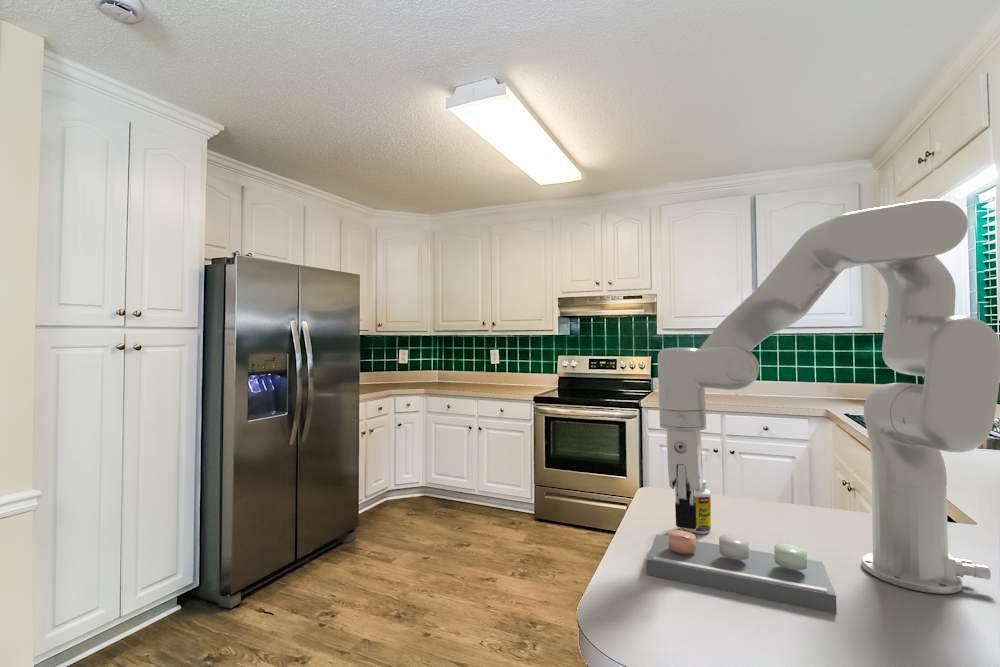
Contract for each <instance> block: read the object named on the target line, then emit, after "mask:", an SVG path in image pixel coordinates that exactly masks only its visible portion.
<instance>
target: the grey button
mask: <svg viewBox="0 0 1000 667" xmlns="http://www.w3.org/2000/svg"><path fill="white" fill-rule="evenodd" d="M718 545H719V553H720V554H721V555H723V556H725V557H727V558H731V559H736V560H745V559H748V558H749V550H750V543H749V541H748V539H745V538H743V537H741V536H738V535H730V534H724V535H720V536H719V537H718Z"/></svg>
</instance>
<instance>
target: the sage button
mask: <svg viewBox="0 0 1000 667" xmlns="http://www.w3.org/2000/svg"><path fill="white" fill-rule="evenodd" d="M773 548H774V552H773V554H774V561H775V563H776V564H778V565H780V566H782V567H784V568H788V569H792V570H805V569H806V568H807V559H808V551H807V550H806V549H804V548H803V547H801V546H797V545H793V544H788V543H776V544H775V545H773Z"/></svg>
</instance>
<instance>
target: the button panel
mask: <svg viewBox="0 0 1000 667" xmlns="http://www.w3.org/2000/svg"><path fill="white" fill-rule="evenodd" d="M645 559H646V561H645V563H646V565H645V567H646V570H645V573H646V574H645V575H646V576H648V577H649V576H650V577H655V578H659V579H665V580H669V581H675V582H680V583H683V584H689V585H693V586H698V587H704V588H708V589H713V590H718V591H722V592H728V593H733V594H734V593H735V594H739V595H742V596H743V595H744V596H747V597H754V598H756V599H757V598H758V599H763V600H767V601H774V602H777V603H783V604H786V605H793V606H797V607H801V608H802V607H803V608H806V609H812V610H816V611H822V612H826V613H831V614H837V594H836V592H835V590H834V586H833V585H832V582H831V579H830V577H829V575H828V573H827V571H826V568H825V564H824V562H823V561H819V560H813V559H808V558H807V568H806V569H805V570H792V569H788V568H784V567H782V566H780V565H778V564H776V563H775V561H774V553H770V552H766V551H765V552H764V551H759V550H753V549H749V558H748V559H745V560H736V559H731V558H727V557H725V556H723V555H721V554H720V553H719V543H718V544H717V543H711V542H706V541H699V540H696V551H695V552H694V553H691V554H683V553H678V552H675V551H672V550H671V549H669V547H668V535H662V534H656V535H655V538H654V540H653V543H652V545H651V547H650V550H649V552H648V555H647V557H646V558H645Z"/></svg>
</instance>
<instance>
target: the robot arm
mask: <svg viewBox="0 0 1000 667" xmlns="http://www.w3.org/2000/svg"><path fill="white" fill-rule="evenodd" d="M968 227H969V221H968V218H967V215H966V213H965V211H964V210H963V209H962V208H961V207H960V206H958V205H957V204H956V203H953V202H951V201H949V200H945V199H935V198H930V199H922V200H916V201H911V202H906V203H898V204H893V205H888V206H887V205H886V206H880V207H873V208H867V209H862V210H861V209H860V210H857V211H850V212H846V213H843V214H840V215H837V216H835V217H833V218H830V219H828V220H826V221H823V222H822V223H819V224H817V225H815V226H812V227H811V228H809V229H808V230H807V231H805V232H804V233H803V234H802V235H800V237H799V238H798V239H797V240H796V242H795V243H794V244H793V245H792V246H791V248H790V249H789V250H788V251H787V252H786V254H785V255H784V256H783V258H782V259H781V260H780V261H779V262H778V263H777V265H775V267H774V268H773V269H772V270H771V271H770V273H769V274H768V275H767V276H766V278H765V279H763V281H762V282H761V284H760V285H759V286H758V287H757V288H756V289H755V290H754V291H753V292H752V293H750V295H749V296H747V297H746V298H745V299H744V300H743V302H741V304H739V305H738V306H737V307H736V308H735V309H734V310H732V312H731V313H729V314H728V316H726V317H725V318H724V320H722V321H721V322H720V323H719V324H718V325H717V327H716V328H715V329H714V330H713V332H712V333H710V334H709V336H708V337H707V339H705V341H704V342H703V343H702V345H701V346H700V347H699V348H696V347H667V348H662V349H661V350H660V351H659V352H658V354H657V380H658V381H657V382H658V384H657V385H658V403H659V404H658V407H659V408H658V412H659V427H660V428H661V429H664V430H666V449H667V452H666V454H667V471H668V472H667V473H668V486H669V487H670V488H671V489H672V490H675V493H674V494H675V503H674V507H675V526H676V527H677V528H682V529H683V528H689V529H696V525H697V519H696V503H694V502H695V493H694V489H696V491H697V492H698V491H700V490H701V488H702V484H703V479H704V467H703V465H704V464H703V450H702V446H703V445H702V435H701V431H703V430H706V429H707V410H706V389H716V390H717V389H718V390H726V391H738V390H744V389H746V388H748V387H749V386H751V385H752V384H753V383H755V381H756V380H757V378H758V377H759V372H760V364H759V361H758V358H757V357H756V356H755V355H754V353H753V352H751V351H753V349H755V348H756V347H757V346H758V345H759V344H760V343H762V342H763V341H764V340H765V339H767V338H769V337H770V336H772V335H775V334H776V333H778V332H779V331H782V330H784V329H787V328H788V327H790V326H792V325H794V324H795V323H797V322H798V321H800V320H801V319H802V318H803V317H805V316H806V315H807V313H809V311H810V309H811V308H813V306H814V305H815V304H816V302H817V301H818V300H819V299H820V298H821V297H822V295H823V294H824V293H825V292H826V291H827V289H828V288H829V287H830V285H832V283H833V282H834V281H835V280H836V279H837V277H838V276H839V275H840V274H841V273H842V272H843V271H844V270H847V269H850V268H854V267H859V266H863V265H868V264H870V266H871V267H873V268H875V270H876V271H877V272H878V273H879V274H880V275H881V276H882V279H883V280H884V281H885V284H886V286H887V287H886V288H887V292H888V293H887V294H888V296H887V297H888V298H887V310H886V316H885V325H884V331H883V338H882V346H881V354H882V356H881V357H882V359H883V361H884V364H885V365H886V366H887V367H888V368H889V369H890V370H893V371H895V372H897V373H899V374H902V375H908V376H918V377H924V378H923V379H924V380H923V384H920V383H912V382H892V383H885V384H882V385H880V386H878V387H876V388H875V389H873V390H872V391H871V392H870V393H869V395H867V397H866V399H865V402H864V405H863V418H864V423H865V427H866V428H865V430H866V431H867V436H868V443H869V448H870V460H871V462H870V463H871V464H870V465H871V466H870V467H871V476H870V477H871V478H870V479H871V481H870V482H871V520H872V521H871V524H872V552H869V553H866V554H864V555H862V557H861V566H862V567H863V569H865V571H866V572H867V573H869V574H870V575H872V576H873V577H876V578H877V579H880V580H881V581H883V582H887V583H889V584H892V585H895V586H898V587H901V588H905V589H907V590H913V591H918V592H923V593H929V594H939V595H950V594H955V593H959V592H961V591H962V590H963V580H962V578H964V576H968V577H969V576H970V577H972V578H977V579H983V580H988V581H990V580H991V577H992V576H991V574H992V573H991V570H990V568H989V567H988V566H987V565H982V564H981V565H980V564H975V563H972V560H971V559H965V558H954V557H953V556H952V554H950V553H949V540H948V535H949V534H948V495H947V494H948V492H947V490H948V489H947V485H948V482H947V481H948V478H947V476H948V475H947V469H946V464H945V461H944V457H943V454H942V453H941V451H943V452H947V453H948V452H949V453H965V452H971V451H973V450H975V449H977V448H979V447H980V446H982V444H984V443H985V442H986V441H987V439H988V438H989V436H990V434H991V432H992V429H993V426H994V422H995V419H996V418H995V416H996V411H997V405H998V398H999V390H1000V339H999V337H998V335H997V333H996V332H995V330H994V329H993V328H992V327H991V326H990V325H989V324H987V323H986V322H984V321H983V320H981V319H978V318H975V317H972V316H968V315H955V312H956V310H955V308H956V297H957V296H956V295H957V294H956V284H955V280H954V278H953V276H952V274H951V272H950V271H949V269H948V268H947V267H946V266H945V264H944V263H943V262H942V261H941V259H939V258H938V257H937V256H939V255H942V254H945V253H947V252H950V251H952V250H953V249H955V248H956V247H957V246H958V245H959V244H961V243H962V241H963V240H964V239H965V237H966V235H967V233H968Z"/></svg>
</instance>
